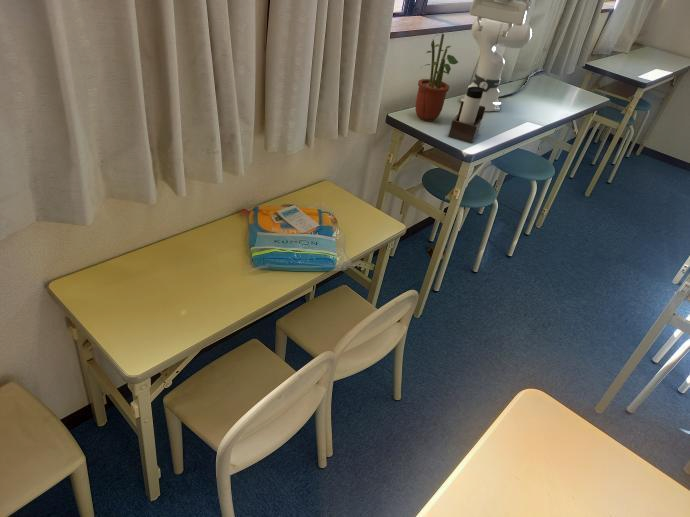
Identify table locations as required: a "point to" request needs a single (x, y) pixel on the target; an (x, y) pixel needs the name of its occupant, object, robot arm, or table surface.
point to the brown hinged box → (466, 126)
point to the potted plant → (433, 86)
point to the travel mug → (471, 105)
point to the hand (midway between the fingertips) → (491, 33)
